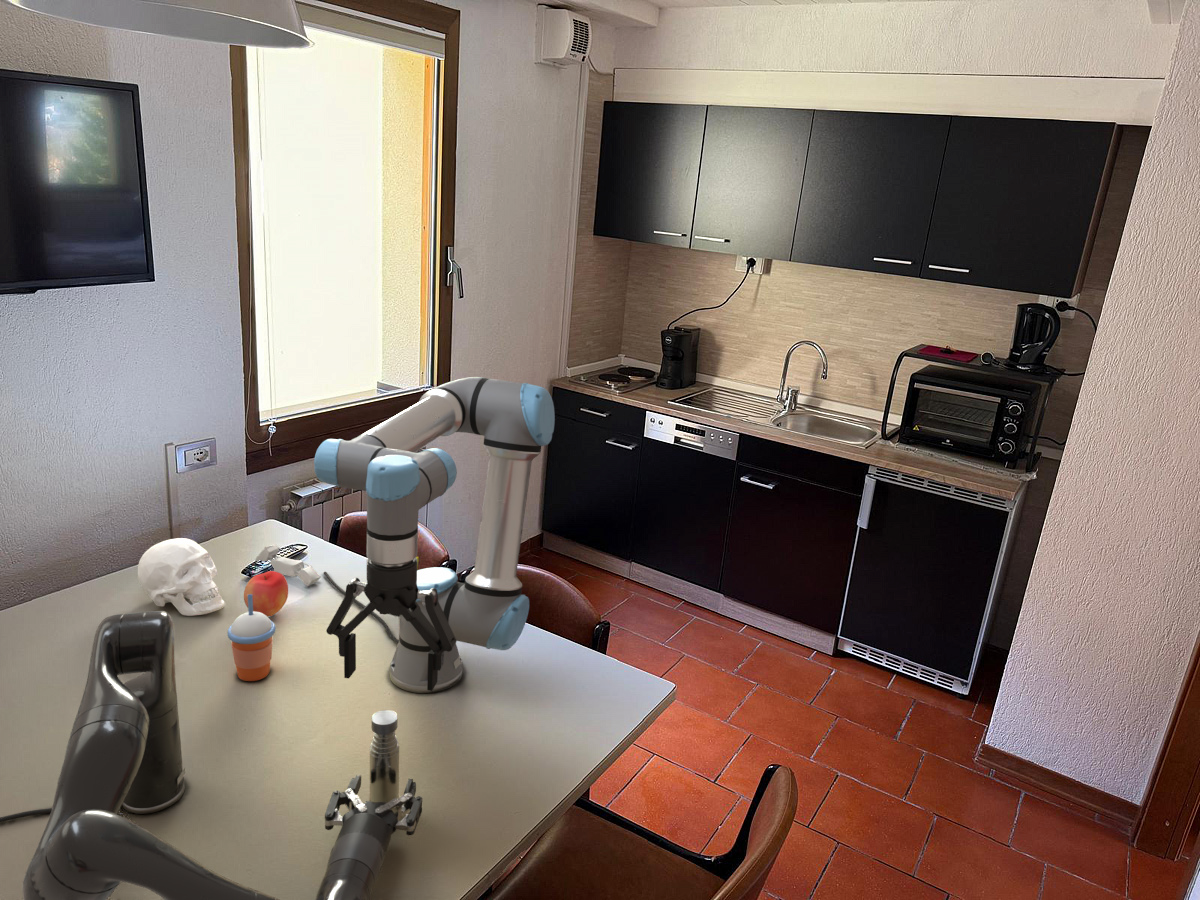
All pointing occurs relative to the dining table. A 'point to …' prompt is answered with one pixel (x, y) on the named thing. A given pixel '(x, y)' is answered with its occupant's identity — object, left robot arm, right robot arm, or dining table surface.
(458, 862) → the dining table surface
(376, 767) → the bottle
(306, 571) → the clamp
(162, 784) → the left robot arm
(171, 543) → the skull
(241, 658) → the cup with straw
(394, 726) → the cap
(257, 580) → the apple
